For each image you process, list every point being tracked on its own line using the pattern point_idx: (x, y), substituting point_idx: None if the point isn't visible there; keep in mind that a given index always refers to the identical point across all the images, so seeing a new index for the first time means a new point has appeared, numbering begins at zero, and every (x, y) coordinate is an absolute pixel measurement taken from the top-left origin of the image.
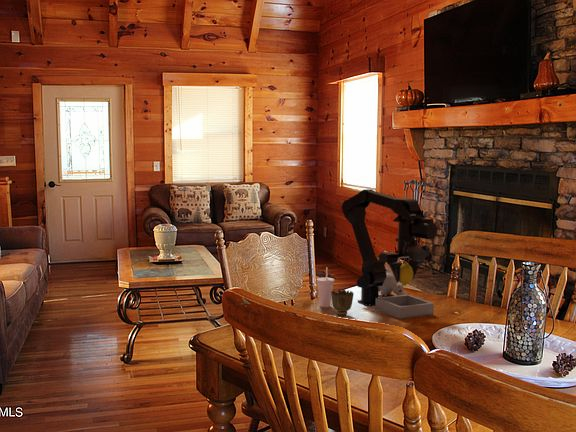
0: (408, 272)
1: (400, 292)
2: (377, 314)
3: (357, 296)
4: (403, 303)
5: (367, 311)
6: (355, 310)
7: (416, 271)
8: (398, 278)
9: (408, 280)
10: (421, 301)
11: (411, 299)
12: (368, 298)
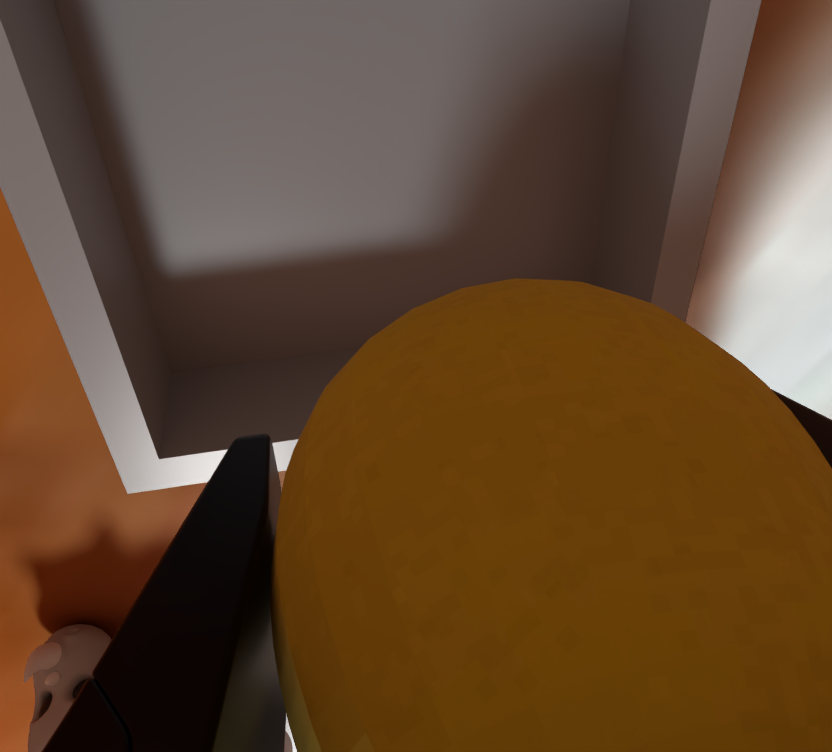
0: (721, 479)
1: (86, 670)
2: (751, 133)
3: None
4: (230, 378)
5: (740, 279)
6: (806, 339)
7: (92, 679)
8: (800, 420)
9: (555, 283)
10: (50, 135)
11: (136, 359)
12: None
